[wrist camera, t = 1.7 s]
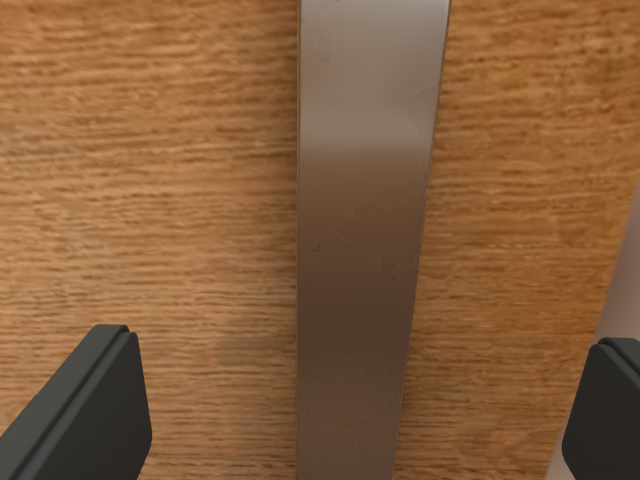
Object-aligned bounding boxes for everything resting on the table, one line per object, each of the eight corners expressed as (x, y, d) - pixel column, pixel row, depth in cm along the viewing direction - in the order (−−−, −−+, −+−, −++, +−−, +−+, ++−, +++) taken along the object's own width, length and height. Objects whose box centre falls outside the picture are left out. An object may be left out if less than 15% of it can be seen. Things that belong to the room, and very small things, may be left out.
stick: (304, -44, 11) (297, -70, 8) (427, -40, 11) (461, -65, 8) (299, 443, 18) (295, 518, 15) (378, 445, 18) (388, 521, 15)
